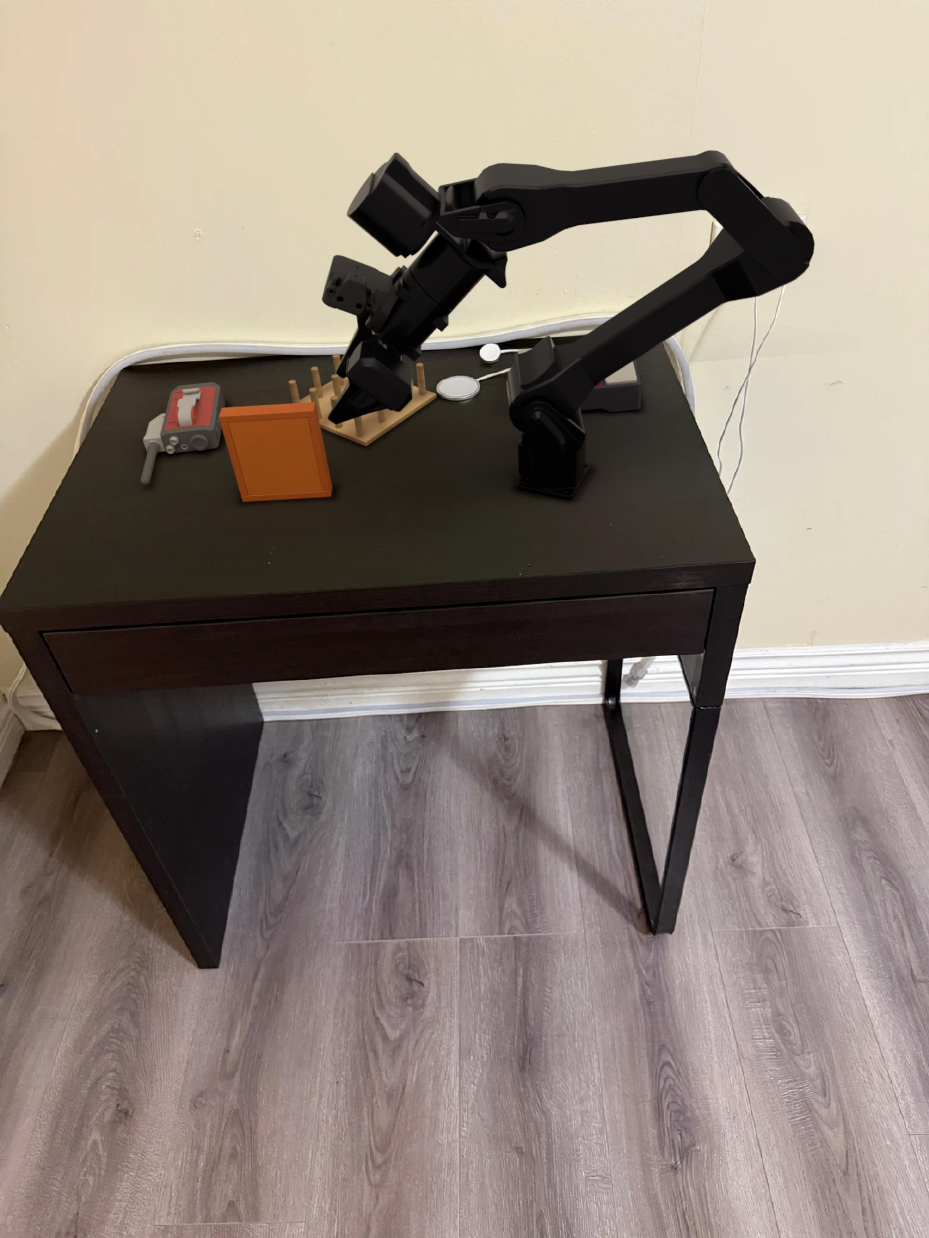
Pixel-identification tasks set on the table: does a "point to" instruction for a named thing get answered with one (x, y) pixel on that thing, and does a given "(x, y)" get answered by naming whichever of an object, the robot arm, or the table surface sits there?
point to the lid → (277, 451)
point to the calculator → (614, 390)
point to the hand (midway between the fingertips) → (335, 397)
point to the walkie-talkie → (185, 423)
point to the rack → (366, 425)
